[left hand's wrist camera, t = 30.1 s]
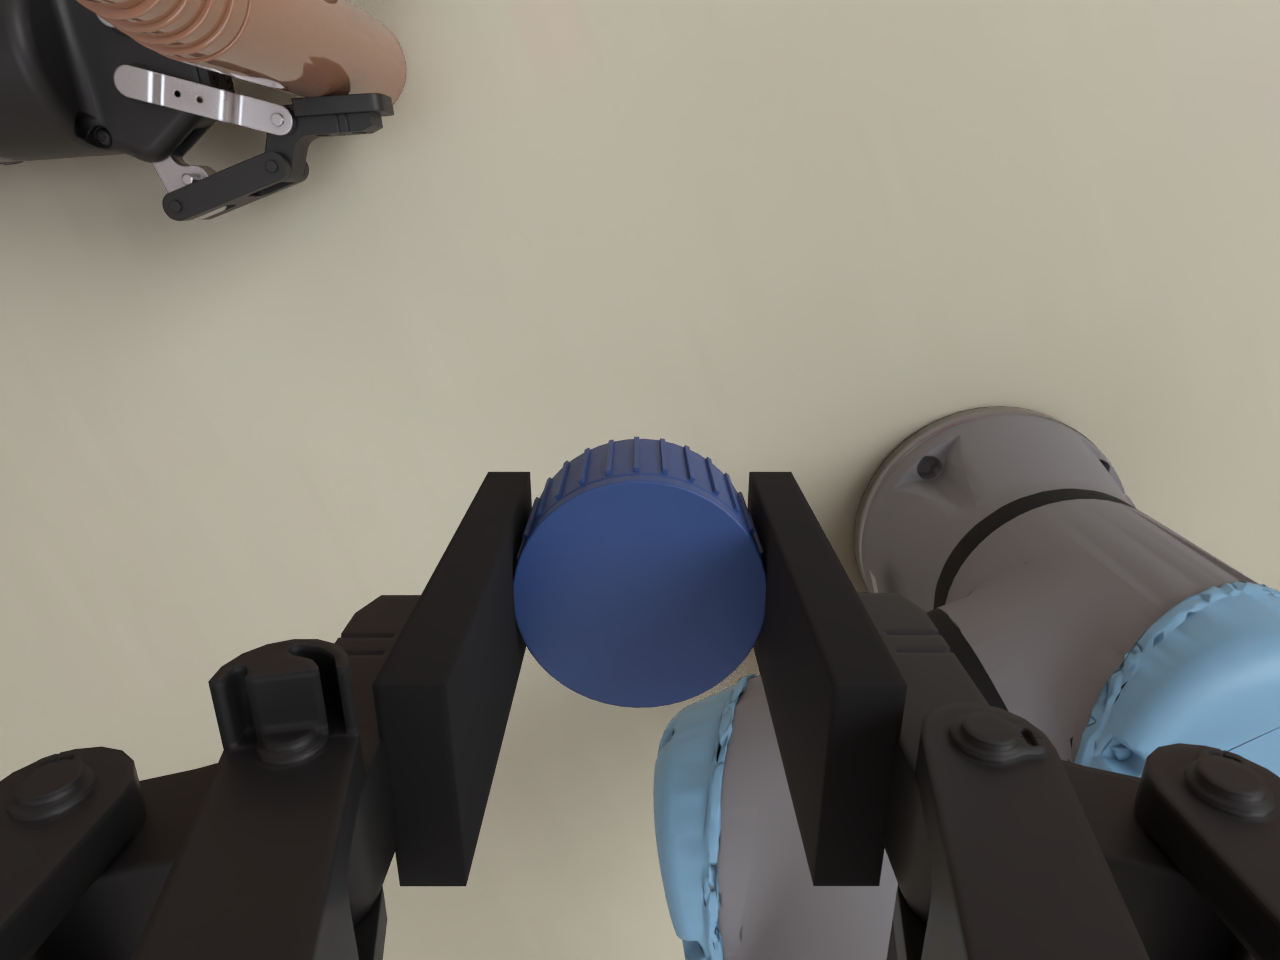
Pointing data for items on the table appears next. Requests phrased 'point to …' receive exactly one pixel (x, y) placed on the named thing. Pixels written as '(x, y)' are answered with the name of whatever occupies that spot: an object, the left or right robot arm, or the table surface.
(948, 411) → the table surface
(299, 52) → the bottle
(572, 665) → the cap
